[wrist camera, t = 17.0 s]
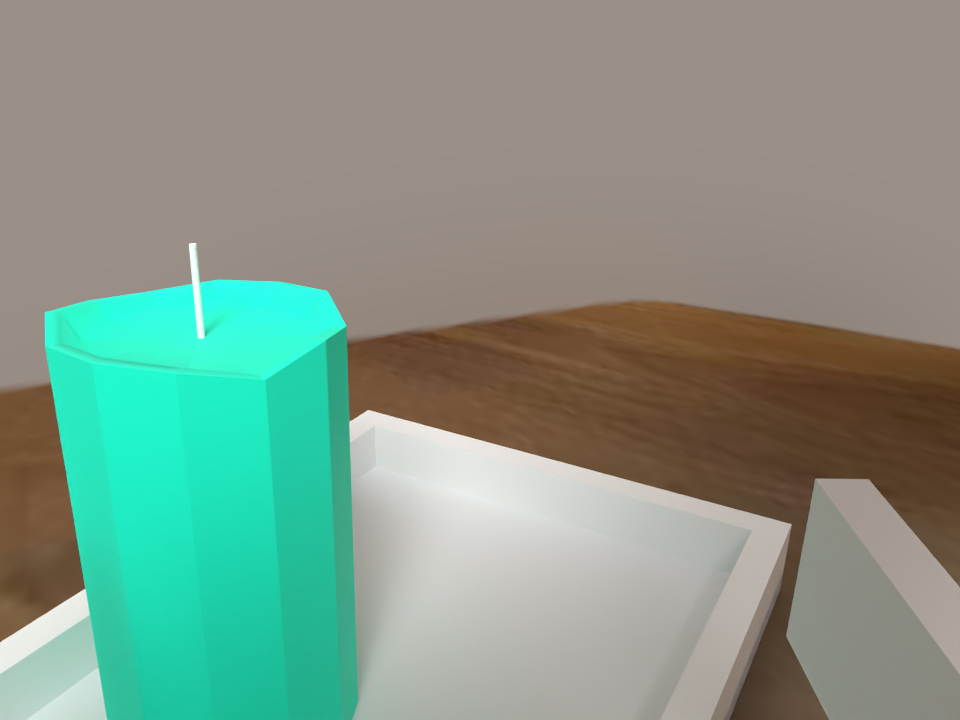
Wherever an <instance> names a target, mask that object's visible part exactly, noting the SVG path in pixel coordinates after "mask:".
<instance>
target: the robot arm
mask: <svg viewBox="0 0 960 720" xmlns="http://www.w3.org/2000/svg"><path fill="white" fill-rule="evenodd" d="M786 637H787V639H788V641H789V643H790V645H791V647H792V649H793V651H794V653H795V655H796V656H797V658H798V660H799V662H800V664H801V666H802V668H803V670H804V672H805V674H806V676H807V678H808V680H809V682H810V684H811V686H812V688H813V690H814V692H815V694H816V696H817V698H818V700H819V702H820V704H821V705H822V707H823V709H824V711H825V713H826V715H827V717H828V719H829V720H960V587H959V586H958V584H957V583H956V582H955V581H954V580H953V579H952V577H951V576H950V575H949V574H948V573H947V571H946V570H945V569H944V568H943V567H942V566H941V564H940V563H939V562H938V561H937V560H936V558H935V557H934V556H933V555H932V554H931V553H930V551H929V550H928V549H927V548H926V547H925V545H924V544H923V543H922V542H921V541H920V539H919V538H918V537H917V536H916V535H915V534H914V532H913V531H912V530H911V529H910V528H909V526H908V525H907V524H906V523H905V522H904V521H903V519H902V518H901V517H900V516H899V515H898V513H897V512H896V511H895V510H894V509H893V508H892V506H891V505H890V504H889V503H888V502H887V500H886V499H885V498H884V497H883V496H882V495H881V493H880V492H879V491H878V490H877V489H876V487H875V486H874V485H873V484H872V483H871V482H870V480H869V479H815V484H814V489H813V495H812V500H811V505H810V511H809V516H808V522H807V527H806V532H805V538H804V543H803V548H802V554H801V559H800V564H799V570H798V575H797V581H796V586H795V591H794V597H793V602H792V607H791V613H790V618H789V623H788V629H787V634H786Z"/></svg>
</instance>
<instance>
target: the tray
mask: <svg viewBox="0 0 960 720" xmlns="http://www.w3.org/2000/svg"><path fill="white" fill-rule="evenodd" d="M349 427H350V459H351V490H352V522H353V553H354V584H355V616H356V647H357V678H358V704H357V707H356V710H355V713H354V715H353V718H352V720H730V718H731V715H732V713H733V710H734V708H735V705H736V702H737V700H738V697H739V695H740V692H741V690H742V687H743V684H744V682H745V679H746V677H747V674H748V672H749V669H750V666H751V664H752V661H753V659H754V656H755V654H756V651H757V648H758V646H759V643H760V641H761V638H762V636H763V633H764V630H765V628H766V625H767V623H768V620H769V618H770V615H771V612H772V610H773V607H774V605H775V602H776V600H777V597H778V594H779V592H780V587H781V582H782V576H783V570H784V565H785V559H786V554H787V548H788V542H789V537H790V531H791V526H792V524H789V523H785V522H781V521H778V520H774V519H770V518H767V517H763V516H759V515H755V514H752V513H748V512H744V511H741V510H737V509H733V508H729V507H726V506H722V505H718V504H715V503H711V502H707V501H703V500H700V499H696V498H692V497H689V496H685V495H681V494H677V493H674V492H670V491H666V490H663V489H659V488H655V487H651V486H648V485H644V484H640V483H637V482H633V481H629V480H625V479H622V478H618V477H614V476H611V475H607V474H603V473H600V472H596V471H592V470H588V469H585V468H581V467H577V466H574V465H570V464H566V463H562V462H559V461H555V460H551V459H548V458H544V457H540V456H536V455H533V454H529V453H525V452H522V451H518V450H514V449H510V448H507V447H503V446H499V445H496V444H492V443H488V442H484V441H481V440H477V439H473V438H470V437H466V436H462V435H458V434H455V433H451V432H447V431H444V430H440V429H436V428H432V427H429V426H425V425H421V424H418V423H414V422H410V421H406V420H403V419H399V418H395V417H392V416H388V415H384V414H380V413H377V412H373V411H369V410H368V411H366V412H365V413H363V414H362V415H360V416H358V417H357V418H355V419H354V420H352V421H351V422H349ZM0 720H107V716H106V710H105V704H104V698H103V692H102V686H101V680H100V674H99V668H98V662H97V656H96V650H95V643H94V637H93V631H92V625H91V619H90V613H89V607H88V601H87V595H86V589H84V590H83V591H81V592H79V593H78V594H76V595H75V596H73V597H71V598H70V599H68V600H67V601H65V602H64V603H62V604H60V605H59V606H57V607H56V608H54V609H52V610H51V611H49V612H48V613H46V614H45V615H43V616H41V617H40V618H38V619H37V620H35V621H33V622H32V623H30V624H29V625H27V626H25V627H24V628H22V629H21V630H19V631H18V632H16V633H14V634H13V635H11V636H10V637H8V638H6V639H5V640H3V641H2V642H0Z"/></svg>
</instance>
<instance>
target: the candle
mask: <svg viewBox="0 0 960 720" xmlns="http://www.w3.org/2000/svg"><path fill="white" fill-rule="evenodd" d="M189 251H190V262H191V272H192V282H193V284H190V285H184V286H178V287H173V288H167V289H161V290H155V291H150V292H143V293H136V294H129V295H122V296H116V297H110V298H102V299H96V300H89V301H84V302H81V303H77V304H73V305H70V306H66V307H63V308H59V309H55V310H52V311H48V312H45V347H46V353H47V359H48V365H49V371H50V378H51V384H52V390H53V396H54V402H55V408H56V414H57V420H58V426H59V432H60V438H61V444H62V450H63V456H64V462H65V468H66V474H67V480H68V486H69V492H70V498H71V504H72V511H73V517H74V523H75V529H76V535H77V541H78V547H79V553H80V559H81V565H82V571H83V577H84V583H85V589H86V595H87V601H88V607H89V613H90V619H91V625H92V631H93V637H94V643H95V650H96V656H97V662H98V668H99V674H100V680H101V686H102V692H103V698H104V704H105V710H106V716H107V720H352V718H353V715H354V713H355V710H356V707H357V704H358V678H357V647H356V616H355V584H354V553H353V522H352V490H351V459H350V427H349V396H348V365H347V333H346V325H345V323H344V321H343V319H342V317H341V316H340V314H339V312H338V310H337V308H336V306H335V304H334V302H333V301H332V299H331V297H330V295H329V293H328V291H325V290H320V289H315V288H309V287H304V286H299V285H294V284H289V283H284V282H267V281H239V280H213V281H208V282H201V283H200V279H199V268H198V258H197V247H196V244H195V243H191V244H189Z"/></svg>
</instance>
